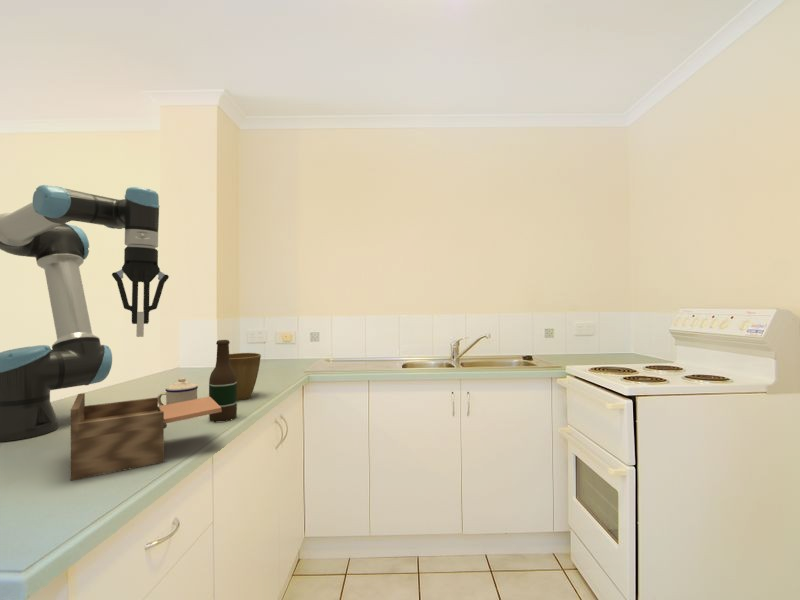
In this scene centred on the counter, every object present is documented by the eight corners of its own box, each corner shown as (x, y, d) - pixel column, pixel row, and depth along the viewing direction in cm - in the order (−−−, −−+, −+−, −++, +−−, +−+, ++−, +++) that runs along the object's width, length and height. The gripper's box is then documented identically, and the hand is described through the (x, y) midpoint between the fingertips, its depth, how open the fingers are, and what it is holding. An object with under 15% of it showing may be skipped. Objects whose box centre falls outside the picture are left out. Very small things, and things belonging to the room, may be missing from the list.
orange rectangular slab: (164, 419, 91) (221, 407, 98) (158, 406, 103) (210, 396, 110) (164, 427, 91) (221, 415, 98) (159, 413, 103) (210, 403, 110)
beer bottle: (209, 423, 118) (209, 341, 118) (208, 417, 125) (208, 339, 125) (238, 420, 122) (237, 340, 122) (235, 414, 129) (235, 338, 129)
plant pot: (216, 396, 154) (216, 354, 154) (257, 392, 161) (257, 352, 161) (219, 404, 141) (219, 358, 141) (264, 399, 148) (264, 355, 148)
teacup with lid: (202, 411, 133) (202, 375, 133) (190, 418, 124) (190, 380, 124) (165, 411, 132) (165, 376, 132) (149, 419, 123) (149, 381, 123)
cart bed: (70, 480, 80) (70, 409, 80) (78, 453, 95) (78, 393, 95) (166, 461, 90) (166, 398, 90) (160, 439, 104) (160, 385, 105)
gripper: (111, 243, 100) (109, 338, 101) (171, 248, 108) (169, 336, 108) (111, 246, 107) (109, 336, 107) (168, 250, 114) (166, 334, 114)
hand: (140, 336), depth 107 cm, fingers closed
